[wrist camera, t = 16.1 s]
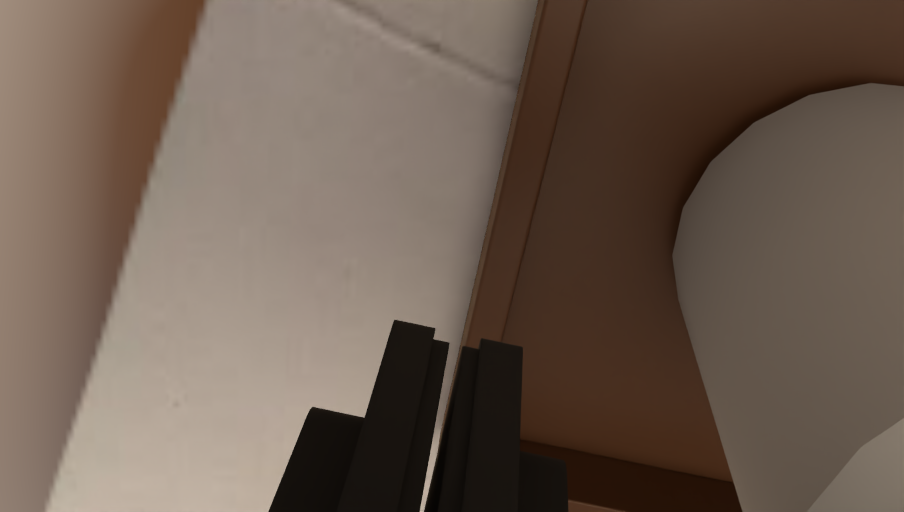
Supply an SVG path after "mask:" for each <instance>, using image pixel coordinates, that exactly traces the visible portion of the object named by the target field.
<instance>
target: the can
mask: <svg viewBox="0 0 904 512" xmlns="http://www.w3.org/2000/svg"><path fill="white" fill-rule="evenodd" d="M672 257H673V265H674V272H675V279H676V286H677V293H678V300H679V304H680V307H681V310H682V314H683V317H684V320H685V323H686V327H687V330H688V333H689V337H690V340H691V343H692V347H693V350H694V353H695V356H696V360H697V363H698V366H699V370H700V373H701V376H702V380H703V383H704V386H705V389H706V393H707V396H708V399H709V403H710V406H711V409H712V413H713V416H714V419H715V422H716V426H717V429H718V432H719V436H720V439H721V442H722V446H723V449H724V452H725V455H726V459H727V462H728V465H729V469H730V472H731V475H732V479H733V482H734V485H735V488H736V492H737V495H738V498H739V502H740V505H741V508H742V512H904V86H894V85H885V84H875V83H868V84H863V85H858V86H852V87H847V88H842V89H837V90H832V91H827V92H822V93H816V94H811V95H808V96H806V97H804V98H802V99H800V100H798V101H796V102H794V103H792V104H790V105H788V106H786V107H784V108H782V109H780V110H778V111H776V112H774V113H772V114H770V115H768V116H766V117H764V118H762V119H760V120H758V121H756V122H754V123H753V124H752V125H751V126H750V127H749V128H747V129H746V130H745V131H744V132H743V133H742V134H741V135H740V136H739V137H738V138H736V139H735V140H734V141H733V142H732V143H731V144H730V145H729V146H728V147H727V148H725V149H724V150H723V151H722V152H721V153H720V154H719V155H718V156H717V157H715V158H714V159H713V160H712V161H711V162H710V164H709V165H708V167H707V169H706V170H705V172H704V174H703V175H702V177H701V179H700V180H699V182H698V184H697V185H696V187H695V189H694V190H693V192H692V194H691V195H690V197H689V199H688V200H687V202H686V204H685V205H684V207H683V210H682V214H681V219H680V223H679V228H678V232H677V237H676V241H675V246H674V250H673V255H672Z"/></svg>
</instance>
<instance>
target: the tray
mask: <svg viewBox="0 0 904 512" xmlns="http://www.w3.org/2000/svg"><path fill="white" fill-rule="evenodd" d="M868 83H875V84H885V85H894V86H904V0H538V4H537V9H536V13H535V18H534V22H533V27H532V31H531V35H530V40H529V44H528V49H527V53H526V57H525V62H524V66H523V71H522V75H521V80H520V84H519V88H518V93H517V97H516V102H515V106H514V110H513V115H512V119H511V124H510V128H509V133H508V137H507V141H506V146H505V150H504V155H503V159H502V163H501V168H500V172H499V177H498V181H497V186H496V190H495V194H494V199H493V203H492V208H491V212H490V216H489V221H488V225H487V230H486V234H485V239H484V243H483V247H482V252H481V256H480V261H479V265H478V269H477V274H476V278H475V283H474V287H473V292H472V296H471V300H470V305H469V309H468V314H467V318H466V322H465V327H464V331H463V336H462V340H461V345H460V349H459V353H458V358H457V362H456V367H455V371H454V375H453V380H452V384H451V389H450V393H449V398H448V402H447V406H446V411H445V415H444V420H443V424H442V428H441V433H440V440H441V436H442V432H443V427H444V423H445V419H446V414H447V410H448V406H449V401H450V397H451V393H452V388H453V384H454V380H455V375H456V371H457V367H458V362H459V358H460V354H461V350H462V346H467V347H472V348H477V349H478V346H479V343H480V340H481V338H484V339H488V340H493V341H498V342H503V343H507V344H512V345H517V346H522V347H523V367H522V397H521V427H520V451H524V452H529V453H533V454H538V455H543V456H547V457H552V458H557V459H562V460H564V461H565V463H566V469H567V486H568V510H569V512H742V508H741V505H740V502H739V498H738V495H737V492H736V488H735V485H734V482H733V479H732V475H731V472H730V469H729V465H728V462H727V459H726V455H725V452H724V449H723V446H722V442H721V439H720V436H719V432H718V429H717V426H716V422H715V419H714V416H713V413H712V409H711V406H710V403H709V399H708V396H707V393H706V389H705V386H704V383H703V380H702V376H701V373H700V370H699V366H698V363H697V360H696V356H695V353H694V350H693V347H692V343H691V340H690V337H689V333H688V330H687V327H686V323H685V320H684V317H683V314H682V310H681V307H680V304H679V300H678V293H677V286H676V279H675V272H674V265H673V257H672V255H673V250H674V246H675V241H676V237H677V232H678V228H679V223H680V219H681V214H682V210H683V207H684V205H685V204H686V202H687V200H688V199H689V197H690V195H691V194H692V192H693V190H694V189H695V187H696V185H697V184H698V182H699V180H700V179H701V177H702V175H703V174H704V172H705V170H706V169H707V167H708V165H709V164H710V162H711V161H712V160H713V159H714V158H715V157H717V156H718V155H719V154H720V153H721V152H722V151H723V150H724V149H725V148H727V147H728V146H729V145H730V144H731V143H732V142H733V141H734V140H735V139H736V138H738V137H739V136H740V135H741V134H742V133H743V132H744V131H745V130H746V129H747V128H749V127H750V126H751V125H752V124H753V123H754V122H756V121H758V120H760V119H762V118H764V117H766V116H768V115H770V114H772V113H774V112H776V111H778V110H780V109H782V108H784V107H786V106H788V105H790V104H792V103H794V102H796V101H798V100H800V99H802V98H804V97H806V96H808V95H811V94H816V93H822V92H827V91H832V90H837V89H842V88H847V87H852V86H858V85H863V84H868ZM440 440H439V445H440ZM438 449H439V446H438Z"/></svg>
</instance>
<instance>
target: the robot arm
mask: <svg viewBox="0 0 904 512" xmlns="http://www.w3.org/2000/svg"><path fill="white" fill-rule="evenodd" d="M434 333H435V328H432V327H427V326H422V325H417V324H413V323H408V322H403V321H398V320H394V322H393V325H392V328H391V332H390V335H389V338H388V342H387V345H386V348H385V352H384V355H383V358H382V362H381V365H380V368H379V372H378V375H377V378H376V382H375V385H374V388H373V392H372V395H371V398H370V402H369V405H368V408H367V412H366V415H365V418H363V417H358V416H353V415H348V414H344V413H339V412H334V411H330V410H325V409H320V408H315V407H312V408H311V409H310V411H309V413H308V415H307V417H306V420H305V422H304V425H303V427H302V430H301V432H300V435H299V437H298V440H297V442H296V445H295V447H294V450H293V452H292V455H291V457H290V460H289V462H288V465H287V467H286V469H285V472H284V474H283V477H282V479H281V482H280V484H279V487H278V489H277V492H276V494H275V497H274V499H273V502H272V504H271V507H270V509H269V512H420V506H421V501H422V495H423V489H424V484H425V478H426V472H427V467H428V461H429V456H430V450H431V444H432V439H433V433H434V427H435V422H436V416H437V411H438V405H439V399H440V394H441V388H442V383H443V377H444V371H445V366H446V360H447V354H448V349H449V343H448V342H444V341H439V340H434V339H433V337H434ZM522 367H523V347H522V346H517V345H512V344H507V343H503V342H498V341H493V340H488V339H484V338H481V340H480V343H479V346H478V349H477V348H472V347H467V346H462V350H461V354H460V358H459V362H458V367H457V371H456V375H455V380H454V384H453V388H452V393H451V397H450V401H449V406H448V410H447V414H446V419H445V423H444V427H443V432H442V436H441V440H440V445H439V449H438V453H437V458H436V462H435V466H434V471H433V475H432V479H431V484H430V488H429V492H428V497H427V501H426V505H425V510H424V512H569V510H568V486H567V469H566V463H565V461H564V460H562V459H557V458H552V457H547V456H543V455H538V454H533V453H529V452H524V451H520V427H521V397H522Z"/></svg>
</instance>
